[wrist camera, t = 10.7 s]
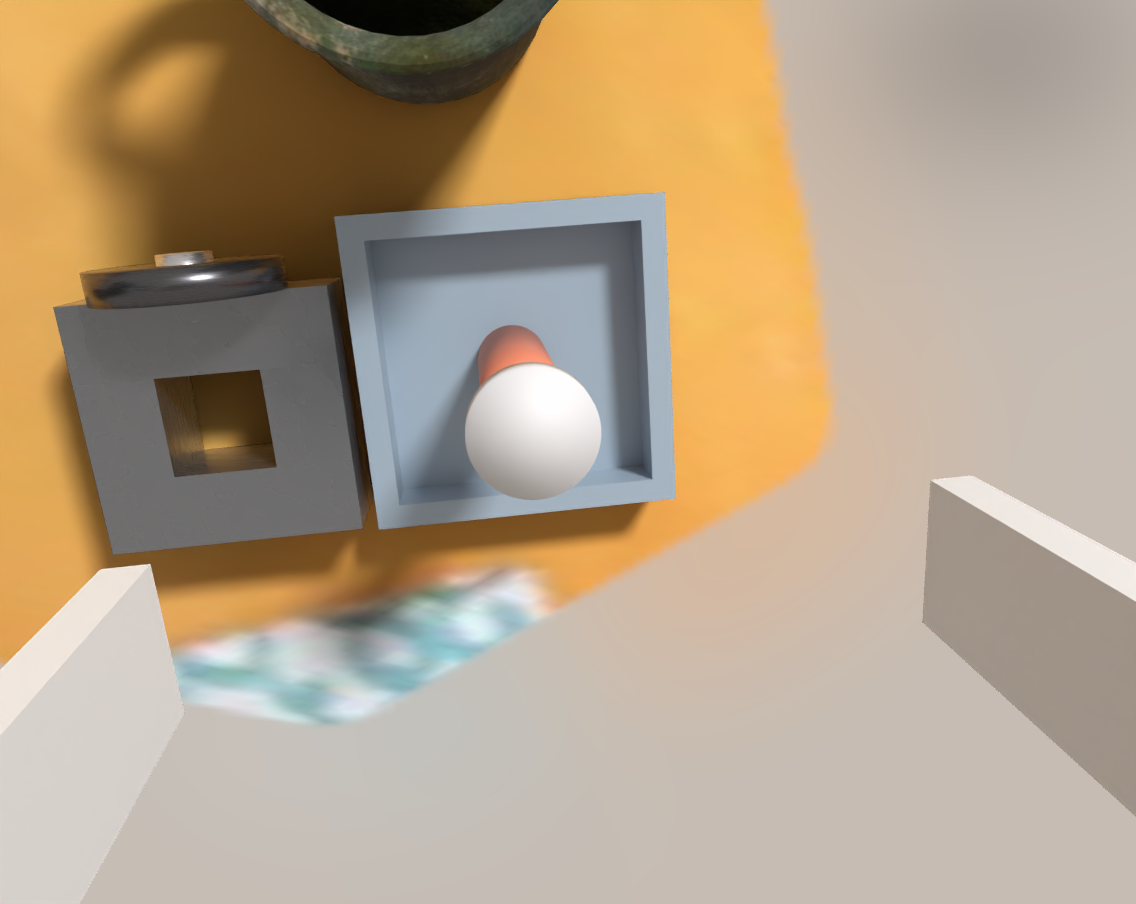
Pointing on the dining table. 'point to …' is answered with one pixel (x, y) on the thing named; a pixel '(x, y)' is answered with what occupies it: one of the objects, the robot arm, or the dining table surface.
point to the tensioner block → (168, 412)
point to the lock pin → (529, 419)
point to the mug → (412, 41)
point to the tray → (499, 298)
